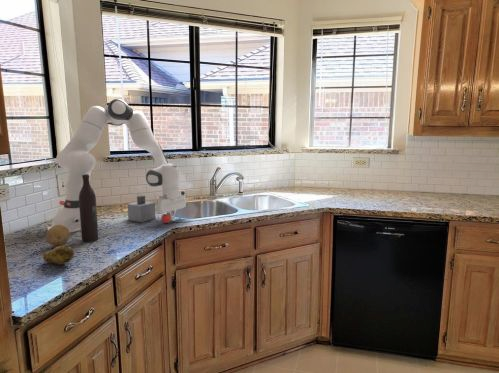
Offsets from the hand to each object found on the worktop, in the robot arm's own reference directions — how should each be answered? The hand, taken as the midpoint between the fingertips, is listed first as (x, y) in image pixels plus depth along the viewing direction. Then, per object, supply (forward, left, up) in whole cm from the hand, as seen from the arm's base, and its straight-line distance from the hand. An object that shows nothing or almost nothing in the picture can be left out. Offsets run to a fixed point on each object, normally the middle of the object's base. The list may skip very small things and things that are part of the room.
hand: (171, 218), depth 203 cm
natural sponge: (-57, +12, -2) cm, 59 cm away
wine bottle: (-43, +10, -2) cm, 44 cm away
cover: (-5, +17, -1) cm, 18 cm away
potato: (-68, -6, -2) cm, 69 cm away
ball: (-4, 0, +1) cm, 5 cm away
